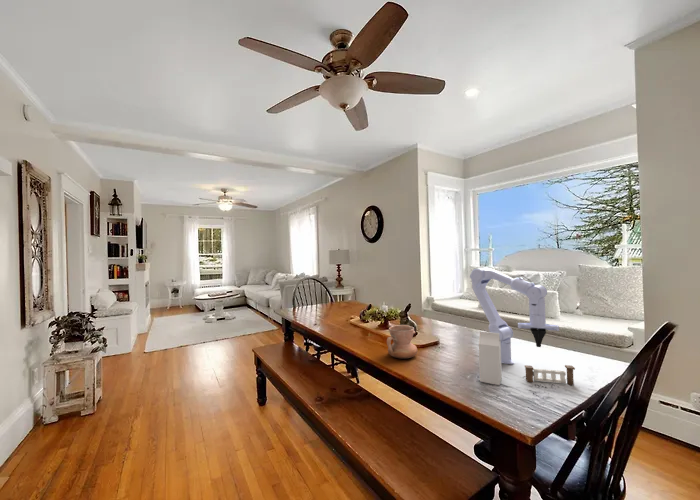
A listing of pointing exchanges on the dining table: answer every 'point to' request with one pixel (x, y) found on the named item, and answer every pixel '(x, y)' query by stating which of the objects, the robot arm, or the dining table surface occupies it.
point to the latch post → (529, 373)
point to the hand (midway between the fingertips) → (538, 346)
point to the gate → (553, 375)
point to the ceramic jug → (401, 342)
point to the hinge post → (570, 374)
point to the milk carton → (490, 358)
